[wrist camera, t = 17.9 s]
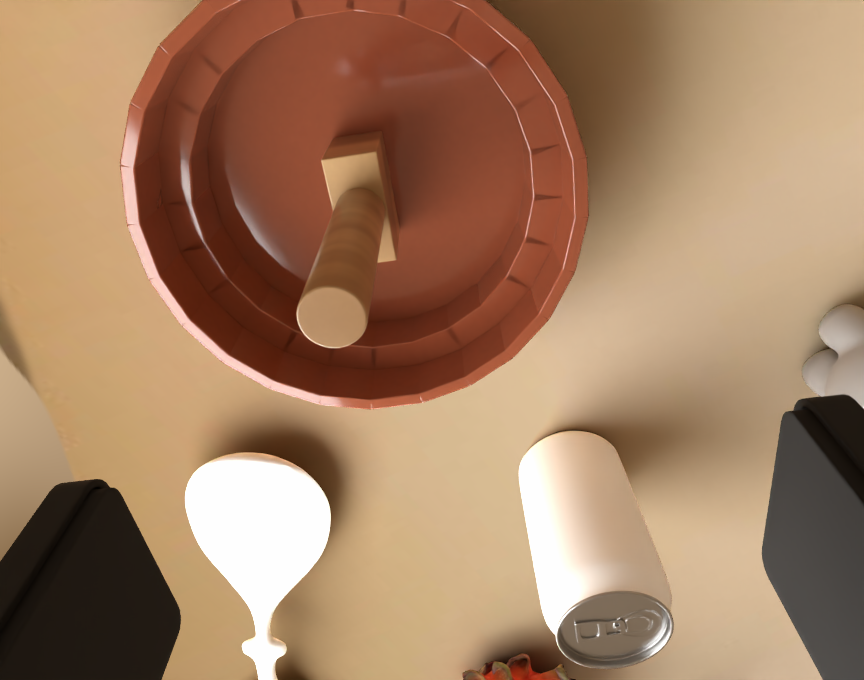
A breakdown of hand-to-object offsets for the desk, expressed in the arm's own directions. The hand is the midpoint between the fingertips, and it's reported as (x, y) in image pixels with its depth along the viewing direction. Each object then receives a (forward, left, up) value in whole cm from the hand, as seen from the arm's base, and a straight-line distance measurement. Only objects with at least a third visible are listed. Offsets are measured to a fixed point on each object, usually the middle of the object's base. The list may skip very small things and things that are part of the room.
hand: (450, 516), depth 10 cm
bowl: (+2, -4, -26) cm, 26 cm away
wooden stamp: (+2, -4, -25) cm, 25 cm away
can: (+22, +5, -26) cm, 34 cm away
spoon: (+32, -17, -26) cm, 44 cm away
